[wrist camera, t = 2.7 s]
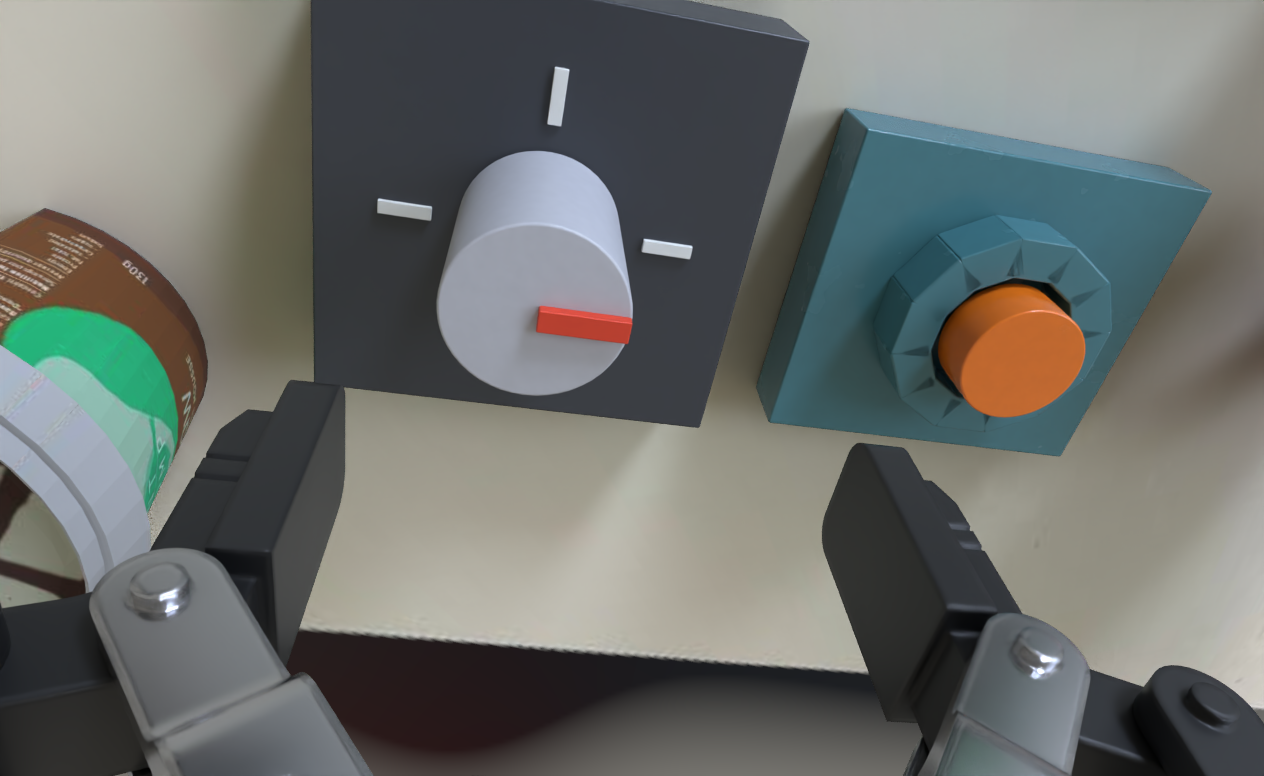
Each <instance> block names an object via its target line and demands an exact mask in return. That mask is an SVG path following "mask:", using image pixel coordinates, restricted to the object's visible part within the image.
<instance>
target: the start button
mask: <svg viewBox="0 0 1264 776" xmlns="http://www.w3.org/2000/svg"><path fill="white" fill-rule="evenodd" d="M938 356H939V360H940V364H941V366H942V368H943V370H944V371H945V373H946V374H947V375H948V377H949V378H950V379H951V381H952V382H953V384H954V385H955V386H956V388H957V389H958V390H959V392H960V393H961V394H962V396H963V397H964V399H965V400H966V401H967V403H968V404H969V405H970V406H971V407H973V408H974V409H976V410H977V411H979V412H981V413H983V414H986V415H989V416H994V417H1016V416H1021V415H1025V414H1028V413H1031V412H1034V411H1036V410H1039V409H1041V408H1043V407H1045V406H1046V405H1048V404H1050V403H1051V402H1053V401H1054V400H1055V399H1057V398H1058V397H1059V396H1060V395H1061V394H1063V393H1064V392H1065V391H1066V390H1067V389H1068V388H1069V386H1070V385H1071V384H1072V383H1073V381H1074V380H1075V378H1076V377H1077V375H1078V373H1079V371H1080V369H1081V367H1082V364H1083V361H1084V357H1085V340H1084V336H1083V333H1082V331H1081V329H1080V327H1079V326H1078V325H1077V324H1076V322H1075V321H1074V320H1073V319H1071V318H1070V317H1069V316H1068V315H1067V314H1066V313H1065V312H1064V311H1063V310H1062V309H1061V308H1060V307H1059V306H1058V305H1056V304H1055V303H1054V302H1053V301H1052V300H1051V299H1050V298H1049V297H1048V296H1047V295H1046V294H1044V293H1043V292H1042V291H1040V290H1038V289H1037V288H1034V287H1032V286H1029V285H1024V284H1015V283H1014V284H1002V285H997V286H993V287H990V288H987V289H985V290H982V291H980V292H979V293H977V294H975V295H973V296H972V297H970V298H969V299H967V300H966V301H965V302H963V303H962V304H961V305H960V306H959V307H958V308H957V309H956V310H955V311H954V312H953V313H952V315H951V316H950V317H949V319H948V320H947V322H946V323H945V325H944V327H943V329H942V332H941V335H940V338H939V343H938Z"/></svg>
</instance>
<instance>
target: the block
mask: <svg viewBox="0 0 1264 776" xmlns="http://www.w3.org/2000/svg"><path fill="white" fill-rule="evenodd" d="M1211 194H1212V191H1211V190H1209V189H1208V188H1206V187H1204V186H1202V185H1200V184H1198V183H1196V182H1195V181H1193V180H1191V179H1189V178H1187V177H1185V176H1183V175H1181V174H1180V173H1178V172H1176V171H1174V170H1172V169H1170V168H1168V167H1163V166H1158V165H1152V164H1147V163H1141V162H1136V161H1131V160H1125V159H1120V158H1114V157H1109V156H1104V155H1098V154H1093V153H1087V152H1082V151H1076V150H1071V149H1066V148H1060V147H1055V146H1049V145H1044V144H1039V143H1033V142H1028V141H1022V140H1017V139H1012V138H1006V137H1001V136H995V135H990V134H984V133H979V132H974V131H968V130H963V129H957V128H952V127H947V126H941V125H936V124H930V123H925V122H920V121H914V120H909V119H903V118H898V117H893V116H887V115H882V114H876V113H871V112H865V111H860V110H855V109H849V108H846V109H845V111H844V114H843V117H842V120H841V123H840V126H839V129H838V132H837V136H836V139H835V142H834V145H833V148H832V151H831V154H830V157H829V161H828V164H827V167H826V170H825V173H824V176H823V179H822V183H821V186H820V189H819V192H818V195H817V198H816V201H815V204H814V208H813V211H812V214H811V217H810V220H809V223H808V226H807V229H806V233H805V236H804V239H803V242H802V245H801V248H800V251H799V255H798V258H797V261H796V264H795V267H794V270H793V273H792V276H791V280H790V283H789V286H788V289H787V292H786V295H785V298H784V301H783V305H782V308H781V311H780V314H779V317H778V320H777V323H776V327H775V330H774V333H773V336H772V339H771V342H770V345H769V348H768V352H767V355H766V358H765V361H764V364H763V367H762V370H761V373H760V377H759V380H758V383H757V386H756V389H757V391H758V394H759V397H760V400H761V402H762V405H763V408H764V411H765V413H766V416H767V419H768V421H769V422H770V423H779V424H787V425H796V426H804V427H813V428H821V429H830V430H838V431H847V432H856V433H864V434H873V435H881V436H890V437H898V438H907V439H915V440H924V441H932V442H941V443H949V444H958V445H966V446H975V447H983V448H992V449H1000V450H1009V451H1017V452H1026V453H1035V454H1043V455H1052V456H1061V454H1062V453H1063V451H1064V449H1065V447H1066V446H1067V444H1068V442H1069V440H1070V439H1071V437H1072V435H1073V433H1074V432H1075V430H1076V428H1077V426H1078V425H1079V423H1080V421H1081V420H1082V418H1083V416H1084V414H1085V413H1086V411H1087V409H1088V407H1089V406H1090V404H1091V402H1092V400H1093V399H1094V397H1095V395H1096V393H1097V392H1098V390H1099V388H1100V386H1101V385H1102V383H1103V381H1104V380H1105V378H1106V376H1107V374H1108V373H1109V371H1110V369H1111V367H1112V366H1113V364H1114V362H1115V360H1116V359H1117V357H1118V355H1119V353H1120V352H1121V350H1122V348H1123V347H1124V345H1125V343H1126V341H1127V340H1128V338H1129V336H1130V334H1131V333H1132V331H1133V329H1134V327H1135V326H1136V324H1137V322H1138V320H1139V319H1140V317H1141V315H1142V313H1143V312H1144V310H1145V308H1146V307H1147V305H1148V303H1149V301H1150V300H1151V298H1152V296H1153V294H1154V293H1155V291H1156V289H1157V287H1158V286H1159V284H1160V282H1161V280H1162V279H1163V277H1164V275H1165V273H1166V272H1167V270H1168V268H1169V267H1170V265H1171V263H1172V261H1173V260H1174V258H1175V256H1176V254H1177V253H1178V251H1179V249H1180V247H1181V246H1182V244H1183V242H1184V240H1185V239H1186V237H1187V235H1188V234H1189V232H1190V230H1191V228H1192V227H1193V225H1194V223H1195V221H1196V220H1197V218H1198V216H1199V214H1200V213H1201V211H1202V209H1203V207H1204V206H1205V204H1206V202H1207V200H1208V199H1209V197H1210V195H1211ZM1014 283H1015V284H1024V285H1029V286H1032V287H1034V288H1037V289H1038V290H1040V291H1042V292H1043V293H1044V294H1046V295H1047V296H1048V297H1049V298H1050V299H1051V300H1052V301H1053V302H1054V303H1055V304H1056V305H1058V306H1059V307H1060V308H1061V309H1062V310H1063V311H1064V312H1065V313H1066V314H1067V315H1068V316H1069V317H1070V318H1071V319H1073V320H1074V321H1075V322H1076V324H1077V325H1078V326H1079V327H1080V329H1081V331H1082V333H1083V336H1084V340H1085V357H1084V361H1083V364H1082V367H1081V369H1080V371H1079V373H1078V375H1077V377H1076V378H1075V380H1074V381H1073V383H1072V384H1071V385H1070V386H1069V388H1068V389H1067V390H1066V391H1065V392H1064V393H1063V394H1061V395H1060V396H1059V397H1058V398H1057V399H1055V400H1054V401H1053V402H1051V403H1050V404H1048V405H1046V406H1045V407H1043V408H1041V409H1039V410H1036V411H1034V412H1031V413H1028V414H1025V415H1021V416H1016V417H994V416H989V415H986V414H983V413H981V412H979V411H977V410H976V409H974V408H973V407H971V406H970V405H969V404H968V403H967V401H966V400H965V399H964V397H963V396H962V394H961V393H960V392H959V390H958V389H957V388H956V386H955V385H954V384H953V382H952V381H951V379H950V378H949V377H948V375H947V374H946V373H945V371H944V370H943V368H942V366H941V364H940V360H939V356H938V343H939V338H940V335H941V332H942V329H943V327H944V325H945V323H946V322H947V320H948V319H949V317H950V316H951V315H952V313H953V312H954V311H955V310H956V309H957V308H958V307H959V306H960V305H961V304H962V303H963V302H965V301H966V300H967V299H969V298H970V297H972V296H973V295H975V294H977V293H979V292H980V291H982V290H985V289H987V288H990V287H993V286H997V285H1002V284H1014Z"/></svg>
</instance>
